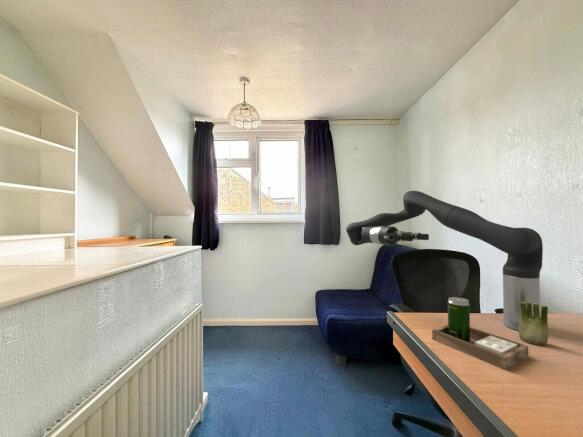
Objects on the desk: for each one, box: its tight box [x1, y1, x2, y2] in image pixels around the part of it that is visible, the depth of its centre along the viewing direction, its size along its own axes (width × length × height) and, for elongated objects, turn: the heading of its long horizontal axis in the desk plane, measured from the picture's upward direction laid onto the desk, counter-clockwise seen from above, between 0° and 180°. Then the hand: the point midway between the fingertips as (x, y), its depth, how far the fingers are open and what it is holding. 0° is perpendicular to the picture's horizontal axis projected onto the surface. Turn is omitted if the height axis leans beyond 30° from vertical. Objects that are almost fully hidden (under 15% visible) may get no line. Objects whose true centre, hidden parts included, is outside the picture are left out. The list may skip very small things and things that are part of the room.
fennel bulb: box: [518, 302, 550, 347], centre depth 74 cm, size 6×5×12 cm
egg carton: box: [475, 335, 517, 355], centre depth 67 cm, size 8×6×4 cm
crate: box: [431, 324, 530, 371], centre depth 71 cm, size 12×18×4 cm, turn 28°
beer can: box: [447, 296, 471, 342], centre depth 75 cm, size 5×5×12 cm
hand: (420, 237), depth 90 cm, fingers open, 8 cm apart
